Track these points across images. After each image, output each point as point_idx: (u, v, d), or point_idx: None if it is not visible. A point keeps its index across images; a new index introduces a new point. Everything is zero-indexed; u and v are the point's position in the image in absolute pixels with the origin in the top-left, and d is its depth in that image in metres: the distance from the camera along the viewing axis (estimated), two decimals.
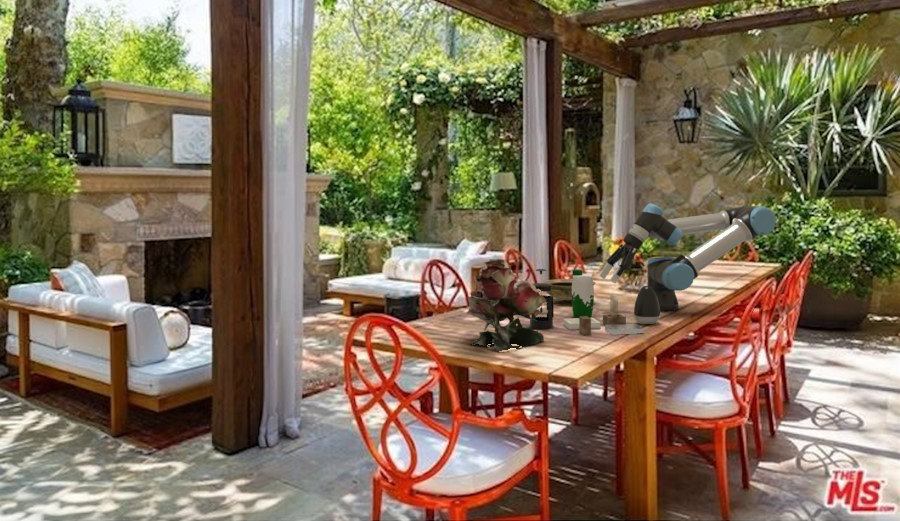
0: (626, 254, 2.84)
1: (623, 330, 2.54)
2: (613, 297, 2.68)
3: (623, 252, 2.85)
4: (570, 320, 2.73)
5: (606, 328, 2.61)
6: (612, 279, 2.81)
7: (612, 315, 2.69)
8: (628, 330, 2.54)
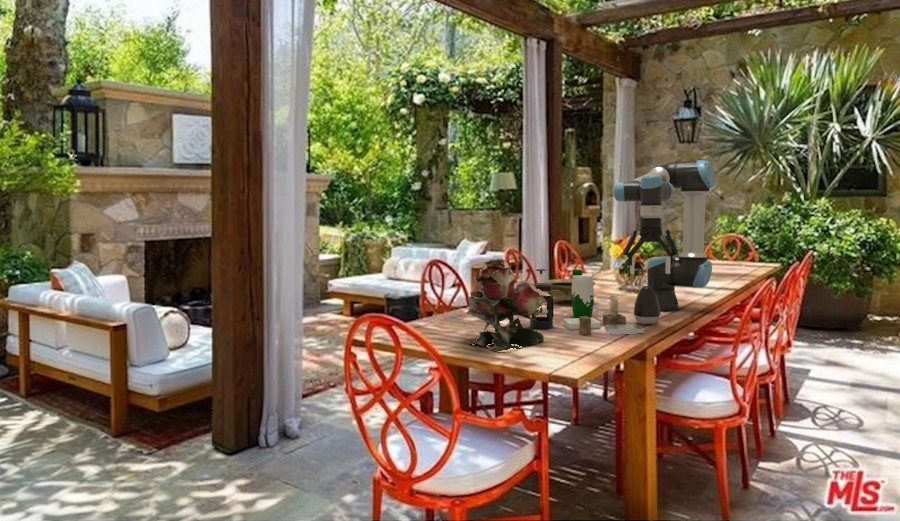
0: None
1: (623, 330, 2.54)
2: (613, 297, 2.68)
3: (659, 239, 2.55)
4: (570, 320, 2.73)
5: (606, 328, 2.61)
6: None
7: (612, 315, 2.69)
8: (628, 330, 2.54)
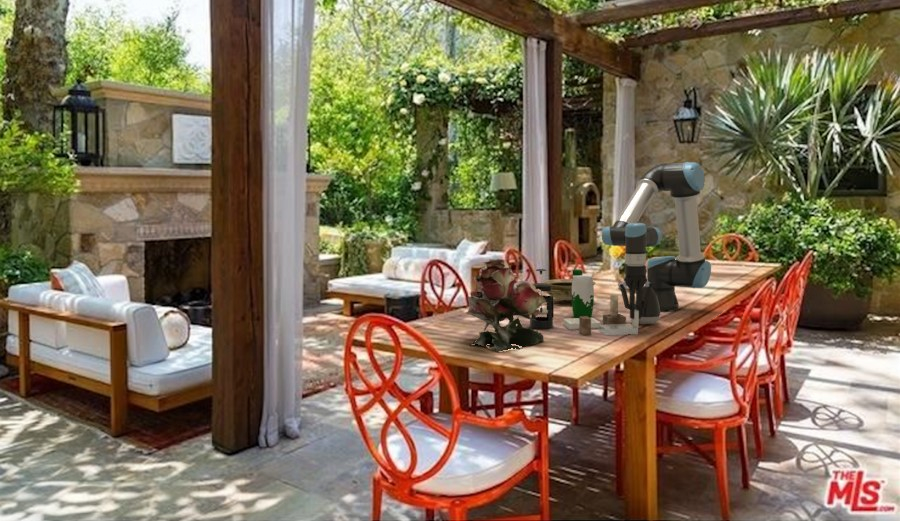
0: None
1: (617, 330, 2.53)
2: (613, 297, 2.68)
3: (639, 288, 2.55)
4: (570, 320, 2.73)
5: (600, 328, 2.60)
6: None
7: (612, 315, 2.69)
8: (622, 330, 2.53)
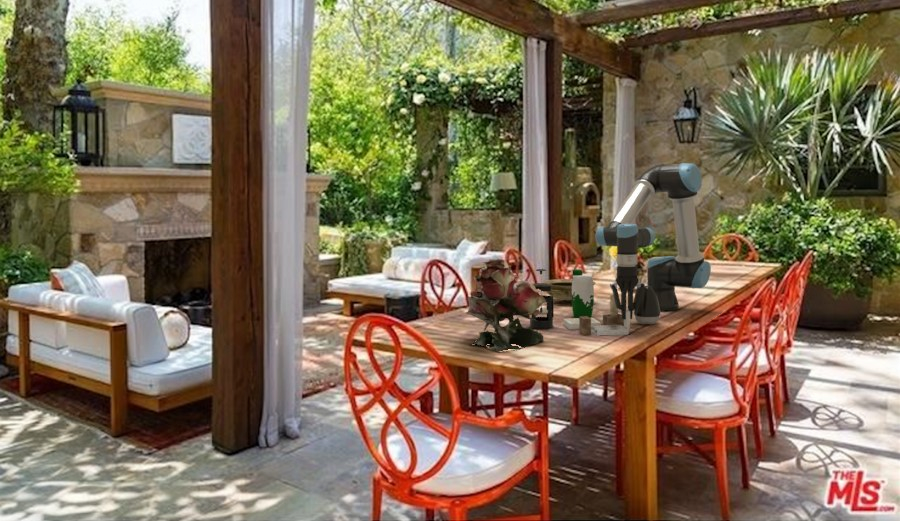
0: None
1: (608, 331, 2.53)
2: (613, 297, 2.68)
3: (631, 289, 2.55)
4: (570, 320, 2.73)
5: (591, 329, 2.60)
6: None
7: (612, 315, 2.69)
8: (613, 331, 2.53)
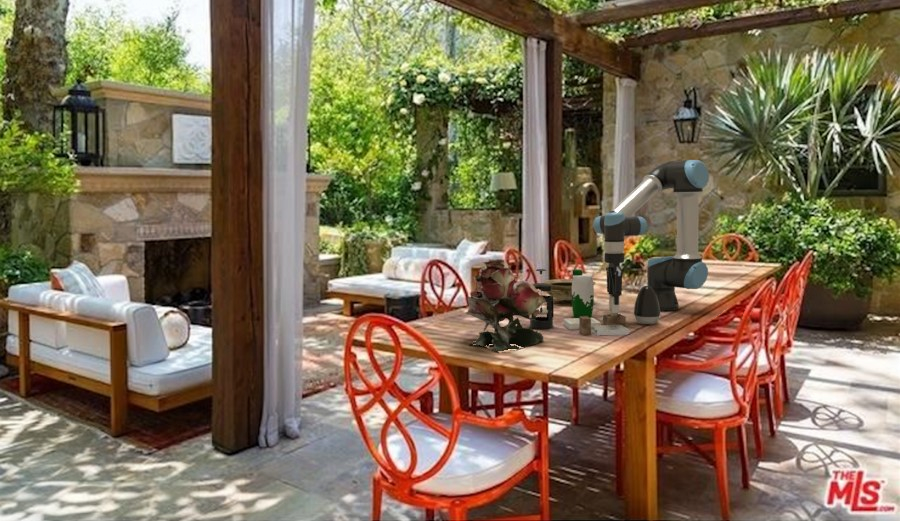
0: None
1: (608, 331, 2.53)
2: None
3: None
4: (570, 320, 2.73)
5: (591, 329, 2.60)
6: None
7: (612, 315, 2.69)
8: (613, 331, 2.53)
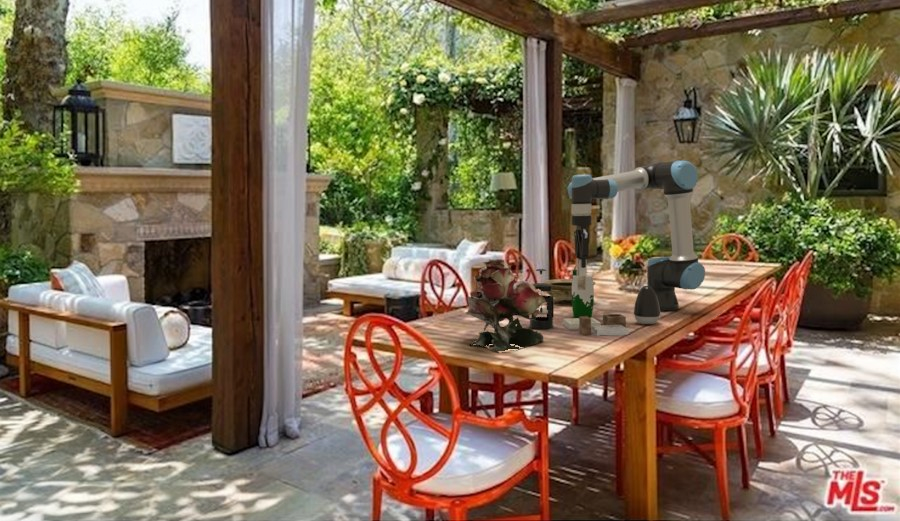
0: (581, 239, 2.68)
1: (608, 331, 2.53)
2: None
3: None
4: (570, 320, 2.73)
5: (591, 329, 2.60)
6: None
7: (579, 278, 2.66)
8: (613, 331, 2.53)
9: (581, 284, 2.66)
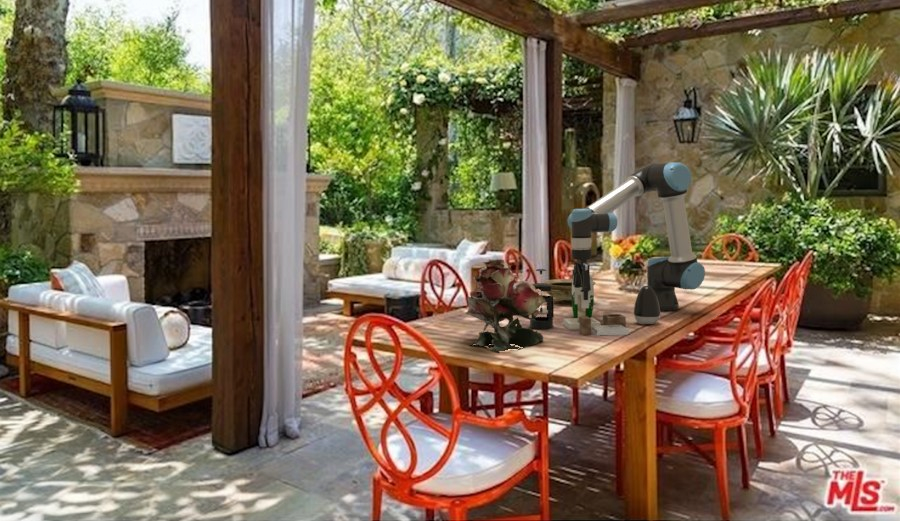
0: None
1: (608, 331, 2.53)
2: (580, 297, 2.67)
3: None
4: (570, 320, 2.73)
5: (591, 329, 2.60)
6: None
7: (579, 315, 2.68)
8: (613, 331, 2.53)
9: None
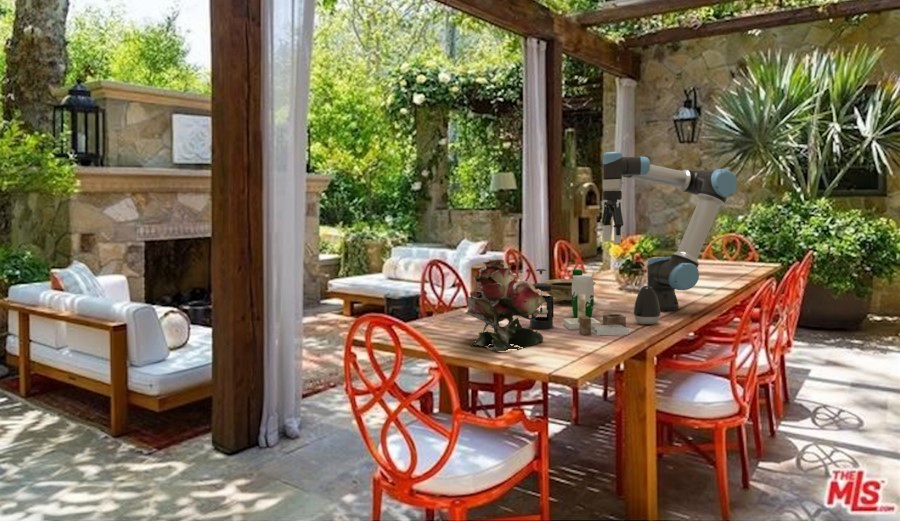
0: None
1: (608, 331, 2.53)
2: (580, 297, 2.67)
3: None
4: (570, 320, 2.73)
5: (591, 329, 2.60)
6: None
7: (579, 315, 2.68)
8: (613, 331, 2.53)
9: None
